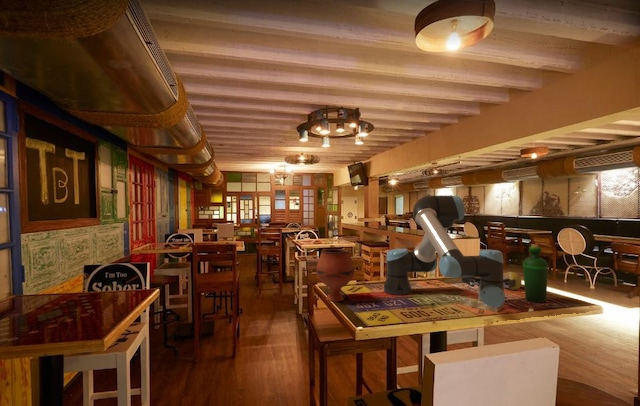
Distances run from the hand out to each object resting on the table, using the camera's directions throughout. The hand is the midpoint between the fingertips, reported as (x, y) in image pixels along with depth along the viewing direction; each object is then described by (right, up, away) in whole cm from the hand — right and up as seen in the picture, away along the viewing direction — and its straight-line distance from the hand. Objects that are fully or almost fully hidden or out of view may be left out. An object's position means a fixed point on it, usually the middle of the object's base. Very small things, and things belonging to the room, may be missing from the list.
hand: (486, 277), depth 141 cm
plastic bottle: (+3, -14, +6) cm, 15 cm away
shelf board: (+1, -15, +7) cm, 17 cm away
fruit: (+34, -16, +38) cm, 53 cm away
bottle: (+33, -16, +16) cm, 40 cm away
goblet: (-67, -16, +19) cm, 72 cm away
